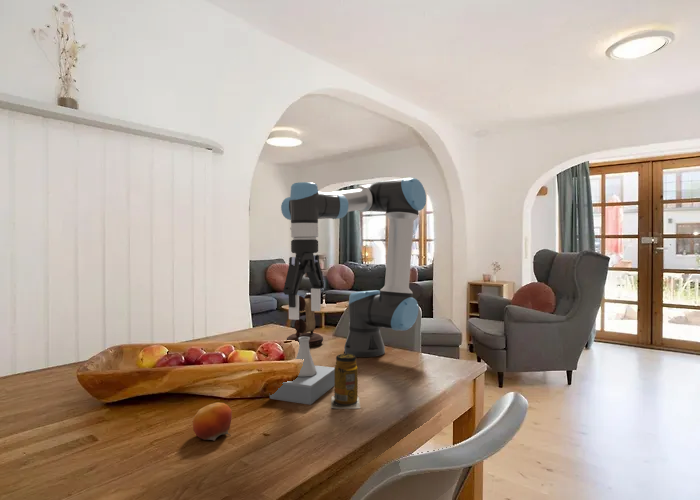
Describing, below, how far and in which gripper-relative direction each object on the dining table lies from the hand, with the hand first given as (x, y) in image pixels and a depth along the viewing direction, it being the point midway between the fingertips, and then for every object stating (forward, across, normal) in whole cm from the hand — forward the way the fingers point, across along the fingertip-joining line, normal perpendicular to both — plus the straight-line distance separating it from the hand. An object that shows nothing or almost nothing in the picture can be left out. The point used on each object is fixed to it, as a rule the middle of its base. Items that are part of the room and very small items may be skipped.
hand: (305, 315), depth 120 cm
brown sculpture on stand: (+22, -49, -25) cm, 59 cm away
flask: (+16, +1, 0) cm, 16 cm away
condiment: (+21, +5, +14) cm, 26 cm away
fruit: (+21, +32, -6) cm, 39 cm away
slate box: (+21, +1, 0) cm, 21 cm away
